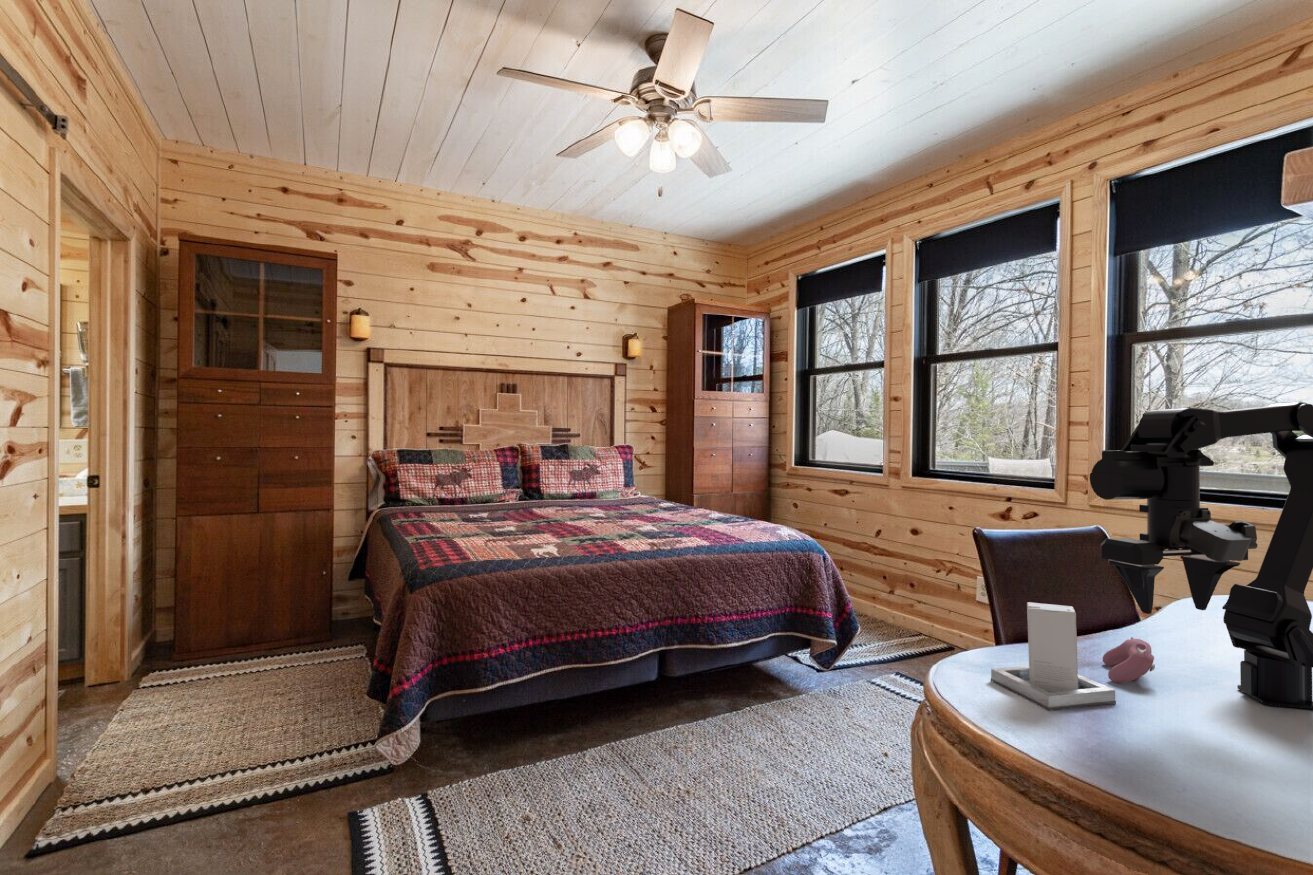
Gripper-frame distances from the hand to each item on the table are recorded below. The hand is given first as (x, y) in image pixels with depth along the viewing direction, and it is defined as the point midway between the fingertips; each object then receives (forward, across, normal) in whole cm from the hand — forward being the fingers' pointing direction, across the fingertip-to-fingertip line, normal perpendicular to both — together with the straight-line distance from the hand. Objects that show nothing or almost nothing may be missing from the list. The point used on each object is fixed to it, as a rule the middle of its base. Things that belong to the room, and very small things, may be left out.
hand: (1173, 611), depth 88 cm
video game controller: (+13, +4, +11) cm, 18 cm away
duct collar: (+13, -13, +8) cm, 20 cm away
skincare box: (+13, -13, +8) cm, 20 cm away
